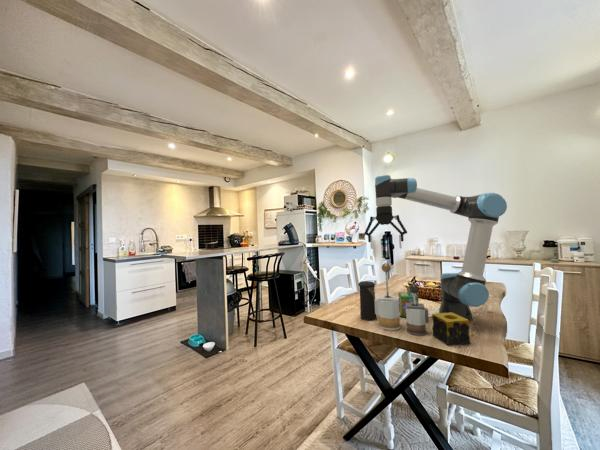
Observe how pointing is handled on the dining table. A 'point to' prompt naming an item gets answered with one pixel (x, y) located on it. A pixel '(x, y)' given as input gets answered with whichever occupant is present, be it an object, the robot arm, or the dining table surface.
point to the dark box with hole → (451, 328)
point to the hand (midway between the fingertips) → (385, 248)
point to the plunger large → (386, 269)
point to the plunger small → (414, 291)
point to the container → (367, 300)
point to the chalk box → (405, 301)
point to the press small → (416, 319)
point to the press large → (388, 312)
